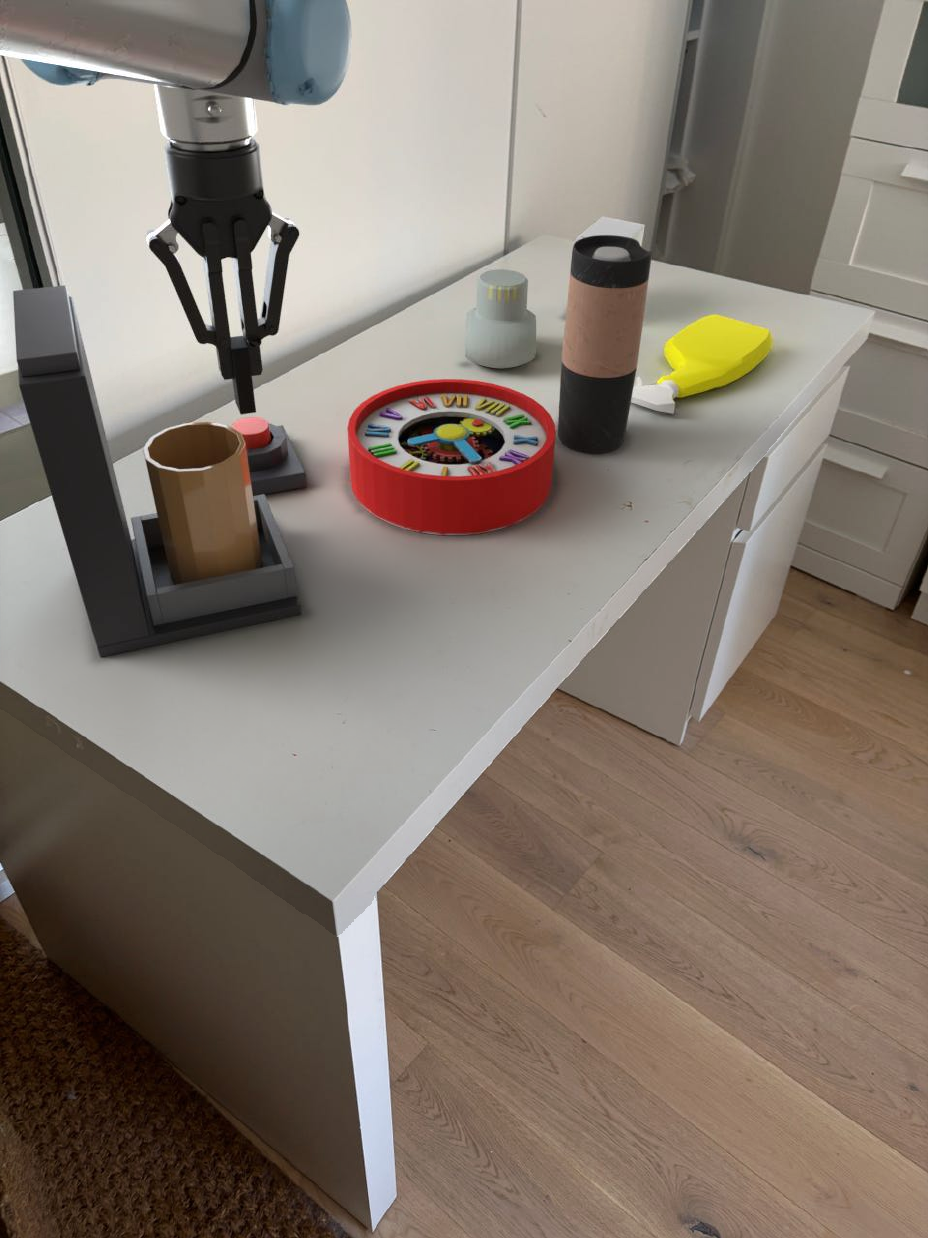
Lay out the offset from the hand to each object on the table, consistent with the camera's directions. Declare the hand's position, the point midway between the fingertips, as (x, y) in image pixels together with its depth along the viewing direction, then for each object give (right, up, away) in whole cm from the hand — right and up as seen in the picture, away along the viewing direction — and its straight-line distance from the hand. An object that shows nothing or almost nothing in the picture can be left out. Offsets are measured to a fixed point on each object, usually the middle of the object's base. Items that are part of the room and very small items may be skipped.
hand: (245, 406), depth 92 cm
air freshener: (+25, +11, +26) cm, 38 cm away
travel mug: (+35, -1, +11) cm, 36 cm away
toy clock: (+20, -6, +4) cm, 21 cm away
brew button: (0, -3, +3) cm, 4 cm away
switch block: (0, -5, +5) cm, 7 cm away
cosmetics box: (+39, +21, +38) cm, 59 cm away
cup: (0, -16, -10) cm, 19 cm away
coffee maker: (-2, -17, -10) cm, 20 cm away
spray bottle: (+48, +9, +23) cm, 54 cm away
